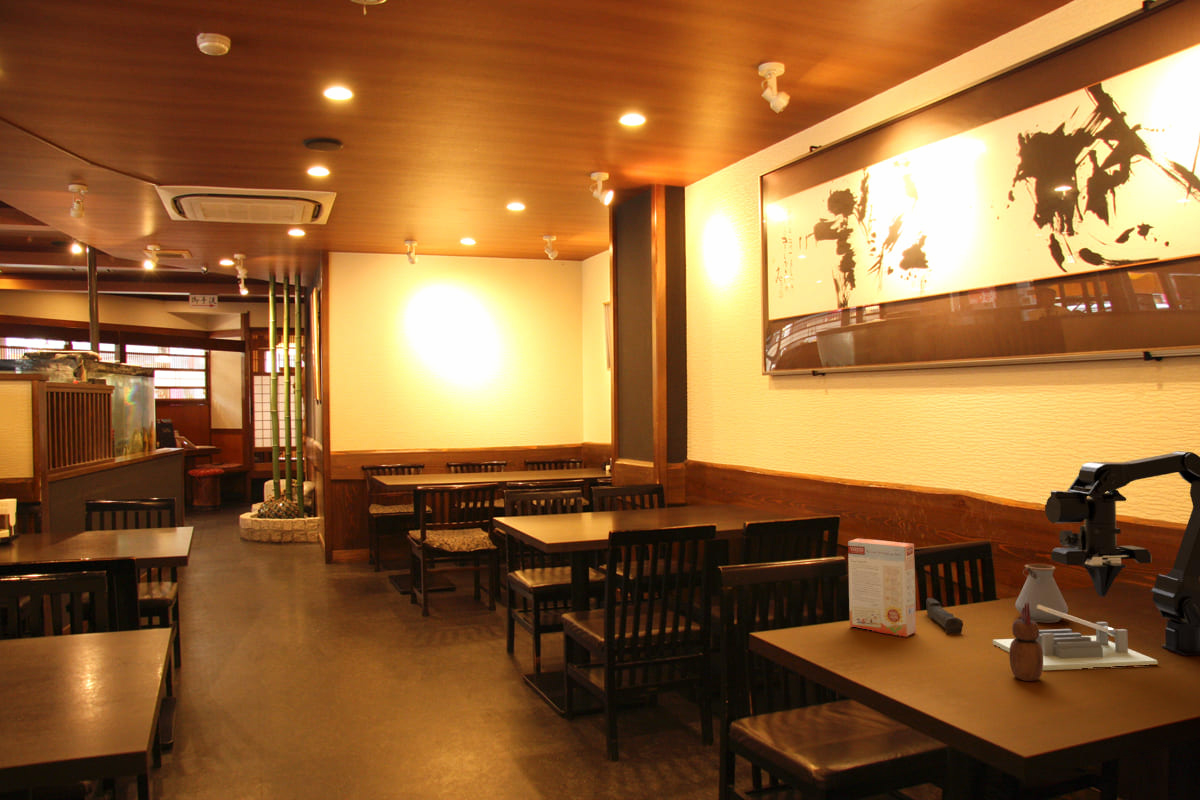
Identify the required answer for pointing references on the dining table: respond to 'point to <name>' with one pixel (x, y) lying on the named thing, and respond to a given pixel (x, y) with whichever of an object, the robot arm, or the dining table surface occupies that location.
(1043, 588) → the coffee pot
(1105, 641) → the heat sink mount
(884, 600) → the cracker box
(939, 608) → the hand tool
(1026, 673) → the wooden figurine
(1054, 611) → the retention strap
